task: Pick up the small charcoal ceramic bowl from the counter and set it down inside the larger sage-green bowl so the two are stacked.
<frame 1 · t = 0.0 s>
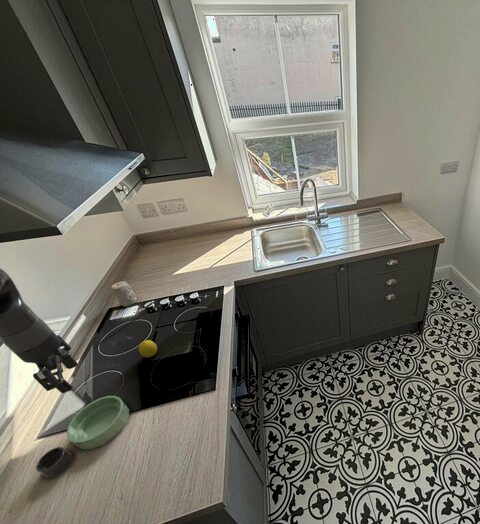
hand: (70, 378, 79), 25 cm above the countertop, tool pointing down, fingers open, 8 cm apart
small bowl: (60, 465, 84), on the countertop
carving: (130, 303, 142), on the countertop
big bowl: (104, 425, 93), on the countertop
lemon: (152, 355, 115), on the countertop
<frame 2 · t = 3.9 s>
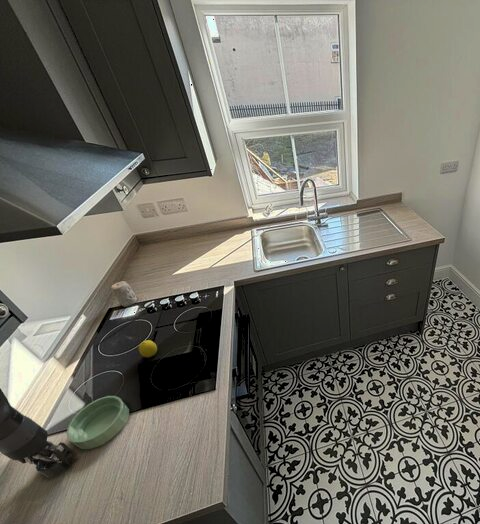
hand: (58, 464, 83), 1 cm above the countertop, tool pointing down, fingers closed on small bowl, 6 cm apart
small bowl: (60, 465, 84), on the countertop, touching gripper
everything else where it was.
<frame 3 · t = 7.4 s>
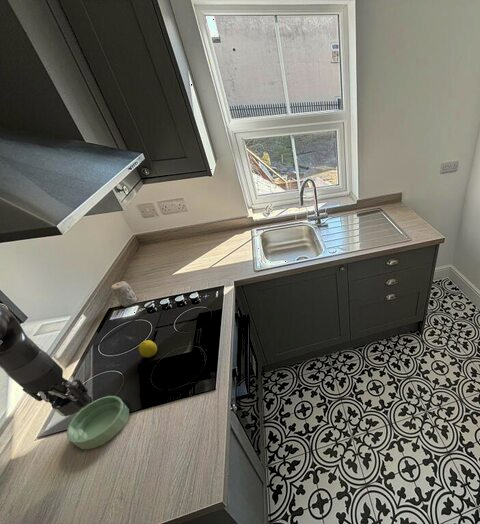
hand: (73, 404, 84), 14 cm above the countertop, tool pointing down, fingers closed on small bowl, 6 cm apart
small bowl: (74, 406, 84), point 14 cm above the countertop, touching gripper
everything else where it was.
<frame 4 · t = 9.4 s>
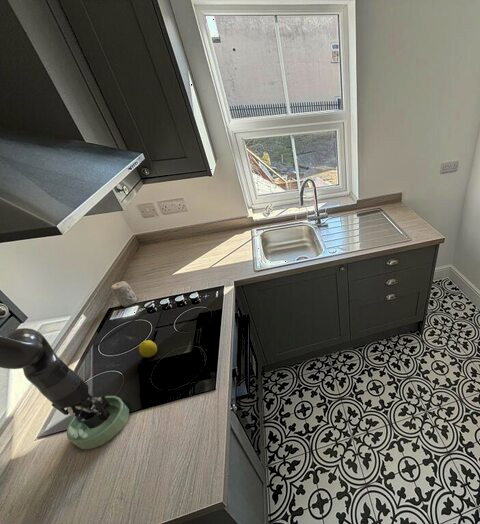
hand: (96, 417, 90), 5 cm above the countertop, tool pointing down, fingers closed on small bowl, 6 cm apart
small bowl: (97, 419, 91), point 4 cm above the countertop, touching gripper
everything else where it was.
when the fingers open (1 cm above the countertop, at t = 11.0 s): small bowl stays where it is, resting on big bowl.
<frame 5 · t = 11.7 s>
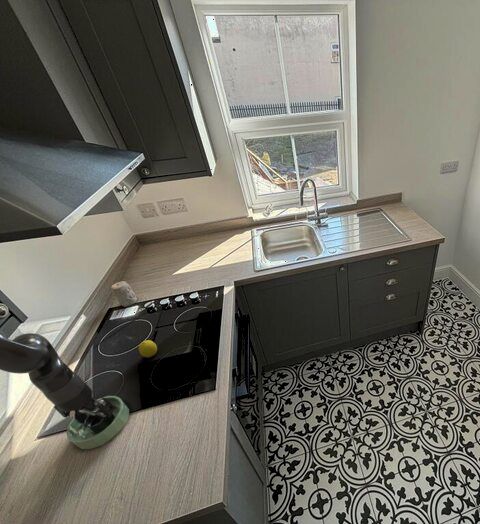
hand: (98, 420, 91), 3 cm above the countertop, tool pointing down, fingers open, 8 cm apart
small bowl: (103, 424, 92), point 1 cm above the countertop, touching big bowl
everything else where it was.
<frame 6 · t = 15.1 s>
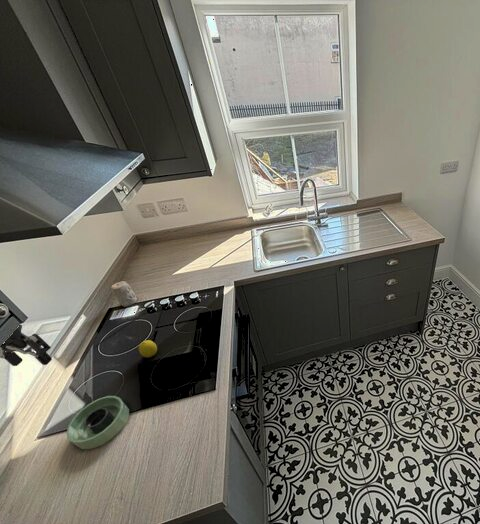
hand: (33, 362, 82), 26 cm above the countertop, tool pointing down, fingers open, 8 cm apart
nothing on the countertop moved.
at the end: small bowl inside the target area in the big bowl (0.0 cm from its centre), point 0.6 cm above the big bowl's base; small bowl tilted 0° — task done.
